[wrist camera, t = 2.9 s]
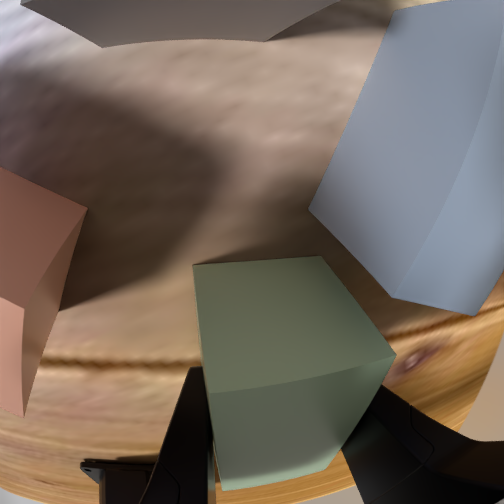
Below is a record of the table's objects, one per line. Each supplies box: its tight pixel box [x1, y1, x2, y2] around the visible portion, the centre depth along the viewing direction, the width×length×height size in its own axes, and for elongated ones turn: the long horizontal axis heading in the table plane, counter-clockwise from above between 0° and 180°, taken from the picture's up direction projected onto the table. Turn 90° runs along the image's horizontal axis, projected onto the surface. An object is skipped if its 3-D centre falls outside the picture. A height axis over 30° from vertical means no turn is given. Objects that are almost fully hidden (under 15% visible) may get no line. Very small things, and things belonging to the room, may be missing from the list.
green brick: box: [193, 256, 396, 491], centre depth 8 cm, size 6×4×4 cm, turn 178°
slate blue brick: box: [308, 0, 504, 316], centre depth 6 cm, size 6×4×4 cm, turn 158°
